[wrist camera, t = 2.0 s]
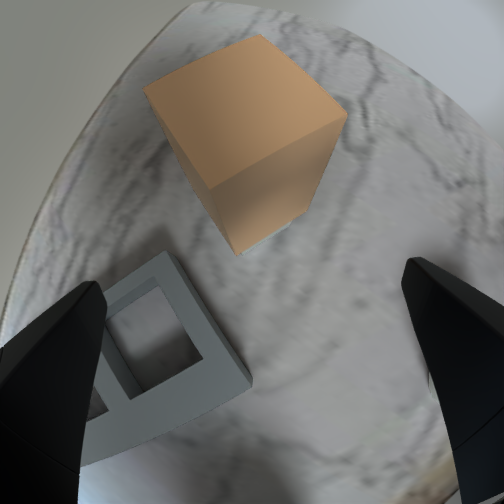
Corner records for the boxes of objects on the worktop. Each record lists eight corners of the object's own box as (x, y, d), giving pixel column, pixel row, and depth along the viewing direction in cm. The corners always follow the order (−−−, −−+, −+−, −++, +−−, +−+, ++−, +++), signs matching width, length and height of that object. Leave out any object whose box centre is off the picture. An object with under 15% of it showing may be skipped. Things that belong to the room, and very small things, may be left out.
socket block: (252, 378, 19) (252, 386, 17) (92, 457, 18) (78, 468, 15) (175, 257, 21) (165, 249, 18) (34, 355, 20) (16, 357, 17)
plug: (299, 227, 21) (348, 114, 8) (240, 265, 21) (209, 189, 8) (260, 173, 22) (260, 34, 9) (203, 208, 22) (142, 88, 9)
